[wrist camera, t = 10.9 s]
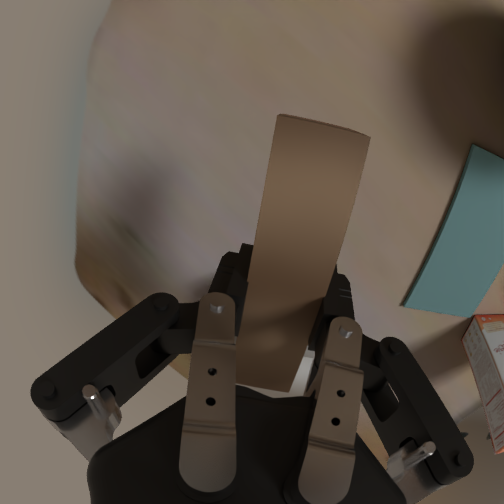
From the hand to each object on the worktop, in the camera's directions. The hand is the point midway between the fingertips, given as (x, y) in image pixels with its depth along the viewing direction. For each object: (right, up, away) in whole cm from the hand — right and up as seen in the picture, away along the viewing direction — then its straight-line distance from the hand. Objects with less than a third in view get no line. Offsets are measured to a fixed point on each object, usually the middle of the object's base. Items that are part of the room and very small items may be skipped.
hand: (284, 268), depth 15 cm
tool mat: (+26, +2, +16) cm, 30 cm away
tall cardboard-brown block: (0, -1, +2) cm, 3 cm away
